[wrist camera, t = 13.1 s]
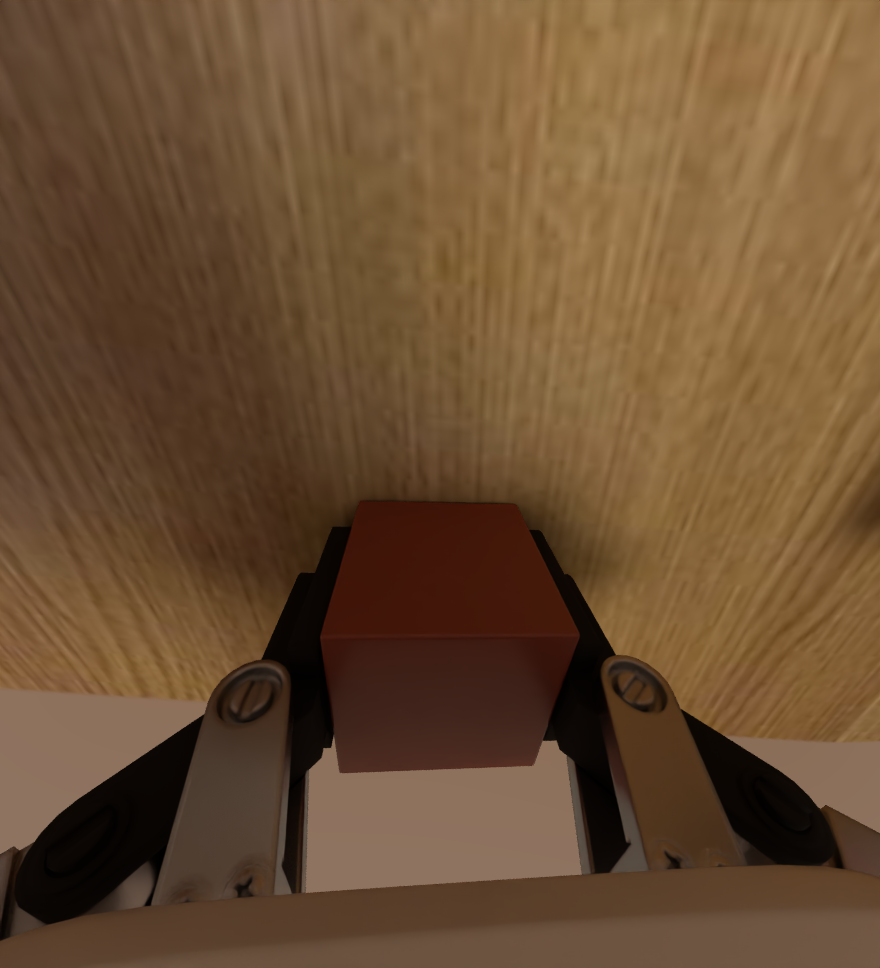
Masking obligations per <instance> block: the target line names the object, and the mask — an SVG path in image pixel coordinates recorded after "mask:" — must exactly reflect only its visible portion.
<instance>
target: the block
mask: <svg viewBox="0 0 880 968" xmlns="http://www.w3.org/2000/svg"><path fill="white" fill-rule="evenodd" d="M579 637H580V636H579V632H578V629H577V627H576V625H575V623H574V621H573V619H572V617H571V615H570V613H569V611H568V609H567V607H566V605H565V603H564V601H563V599H562V597H561V595H560V593H559V591H558V589H557V587H556V584H555V582H554V580H553V578H552V576H551V574H550V572H549V570H548V568H547V566H546V564H545V562H544V560H543V558H542V556H541V554H540V552H539V550H538V548H537V546H536V544H535V542H534V539H533V537H532V535H531V533H530V531H529V529H528V527H527V525H526V523H525V521H524V519H523V517H522V515H521V513H520V511H519V509H518V507H517V505H515V504H479V503H435V502H390V501H360V502H359V504H358V507H357V510H356V514H355V517H354V521H353V524H352V528H351V531H350V535H349V538H348V541H347V545H346V548H345V552H344V555H343V559H342V562H341V566H340V569H339V573H338V576H337V580H336V583H335V586H334V590H333V593H332V597H331V600H330V604H329V607H328V611H327V614H326V618H325V621H324V624H323V628H322V631H321V635H320V641H321V648H322V655H323V662H324V669H325V676H326V683H327V690H328V696H329V703H330V710H331V717H332V724H333V731H334V738H335V745H336V752H337V759H338V766H339V771H340V773H358V772H384V771H410V770H433V769H461V768H485V767H486V768H487V767H512V766H532V765H534V763H535V760H536V758H537V755H538V752H539V749H540V746H541V743H542V741H543V738H544V735H545V732H546V730H547V727H548V724H549V721H550V718H551V716H552V713H553V710H554V707H555V704H556V702H557V699H558V696H559V693H560V691H561V688H562V685H563V682H564V679H565V677H566V674H567V671H568V668H569V665H570V663H571V660H572V657H573V654H574V651H575V649H576V646H577V643H578V640H579Z"/></svg>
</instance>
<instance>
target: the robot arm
mask: <svg viewBox="0 0 880 968" xmlns="http://www.w3.org/2000/svg"><path fill="white" fill-rule="evenodd" d="M351 528H352V527H332V529H331V532H330V534H329V537H328V540H327V542H326V545H325V548H324V550H323V553H322V556H321V558H320V561H319V564H318V566H317V569H316V572H315V573H300V574H299V575H298V577H297V579H296V581H295V583H294V586H293V588H292V590H291V593H290V595H289V597H288V600H287V602H286V604H285V606H284V609H283V611H282V613H281V616H280V618H279V620H278V623H277V625H276V627H275V630H274V632H273V634H272V636H271V639H270V641H269V643H268V646H267V648H266V650H265V653H264V655H263V657H262V659H261V660H256V661H253V662H249V663H246V664H244V665H242V666H240V667H238V668H236V669H235V670H233V671H232V672H230V673H229V674H228V675H227V676H226V677H224V678H223V679H222V680H221V681H220V683H219V684H218V685H217V686H216V688H215V689H214V690H213V692H212V694H211V696H210V699H209V701H208V703H207V707H206V710H205V714H204V715H202V716H201V717H199V718H198V719H196V720H195V721H194V722H192V723H191V724H189V725H187V726H186V727H184V728H183V729H181V730H180V731H179V732H177V733H175V734H174V735H172V736H171V737H170V738H168V739H167V740H165V741H164V742H162V743H161V744H159V745H158V746H156V747H155V748H153V749H152V750H150V751H149V752H147V753H146V754H144V755H143V756H141V757H140V758H138V759H137V760H136V761H134V762H132V763H131V764H130V765H128V766H127V767H125V768H124V769H122V770H121V771H119V772H118V773H116V774H115V775H113V776H112V777H110V778H109V779H107V780H106V781H104V782H103V783H101V784H100V785H98V786H97V787H95V788H94V789H92V790H91V791H90V792H88V793H87V794H85V795H84V796H82V797H81V798H79V799H78V800H76V801H75V802H74V803H73V804H71V805H70V806H69V807H67V808H66V809H65V810H64V811H63V812H61V813H60V814H59V815H58V816H57V817H56V818H55V819H54V820H53V821H52V822H51V823H50V824H49V825H48V826H47V827H46V828H45V829H44V830H43V831H42V832H41V834H40V835H39V836H38V838H37V839H36V841H35V842H34V843H32V844H30V845H28V846H27V847H25V848H23V849H21V850H20V851H19V850H18V849H17V848H16V847H12V848H10V849H8V850H7V851H5V852H3V853H2V854H0V968H880V833H878V832H876V831H875V830H873V829H871V828H869V827H867V826H865V825H863V824H861V823H859V822H857V821H856V820H854V819H851V818H850V817H848V816H846V815H844V814H842V813H840V812H839V811H836V810H835V809H833V808H831V807H829V806H827V805H825V806H824V807H823V808H821V809H820V808H818V807H817V806H816V804H815V803H814V802H813V800H812V799H811V798H810V797H809V796H808V795H807V794H806V793H805V792H804V791H803V790H802V789H801V788H800V787H799V786H798V785H797V784H796V783H795V782H794V781H793V780H791V779H790V778H788V777H787V776H786V775H784V774H783V773H782V772H780V771H779V770H777V769H775V768H774V767H773V766H771V765H769V764H767V763H766V762H764V761H763V760H761V759H760V758H758V757H757V756H755V755H753V754H752V753H750V752H748V751H747V750H745V749H744V748H742V747H741V746H739V745H738V744H736V743H734V742H733V741H731V740H730V739H728V738H726V737H725V736H723V735H722V734H720V733H718V732H717V731H715V730H714V729H712V728H710V727H709V726H707V725H706V724H704V723H702V722H701V721H699V720H698V719H696V718H694V717H693V716H691V715H690V714H688V713H687V712H685V711H683V710H682V709H680V706H679V704H678V702H677V699H676V697H675V695H674V692H673V691H672V689H671V687H670V686H669V684H668V682H667V681H666V680H665V679H664V678H663V677H662V675H661V674H660V673H659V672H658V671H656V670H655V669H654V668H652V667H651V666H650V665H649V664H647V663H645V662H643V661H641V660H639V659H637V658H634V657H630V656H627V655H616V654H615V653H614V651H613V649H612V647H611V645H610V644H609V642H608V640H607V638H606V637H605V635H604V633H603V631H602V629H601V628H600V626H599V624H598V622H597V621H596V619H595V617H594V615H593V613H592V612H591V610H590V608H589V606H588V604H587V603H586V601H585V599H584V597H583V596H582V594H581V592H580V590H579V588H578V587H577V585H576V583H575V581H574V580H573V578H572V577H571V576H570V575H568V574H564V573H563V571H562V569H561V567H560V565H559V563H558V561H557V560H556V558H555V556H554V554H553V552H552V550H551V548H550V547H549V545H548V543H547V541H546V539H545V537H544V535H543V534H542V532H541V531H540V530H529V531H530V533H531V535H532V537H533V539H534V542H535V544H536V546H537V548H538V550H539V552H540V554H541V556H542V558H543V560H544V562H545V564H546V566H547V568H548V570H549V572H550V574H551V576H552V578H553V580H554V582H555V584H556V587H557V589H558V591H559V593H560V595H561V597H562V599H563V601H564V603H565V605H566V607H567V609H568V611H569V613H570V615H571V617H572V619H573V621H574V623H575V625H576V627H577V629H578V632H579V636H580V637H579V640H578V643H577V646H576V649H575V651H574V654H573V657H572V660H571V663H570V665H569V668H568V671H567V674H566V677H565V679H564V682H563V685H562V688H561V691H560V693H559V696H558V699H557V702H556V704H555V707H554V710H553V713H552V716H551V718H550V721H549V724H548V727H547V730H546V732H545V735H544V738H543V741H554V740H557V743H558V746H559V749H560V750H561V751H562V752H563V753H564V754H566V755H567V764H568V771H569V780H570V787H571V795H572V803H573V810H574V818H575V826H576V833H577V841H578V848H579V856H580V864H581V871H582V875H570V876H554V877H539V878H522V879H507V880H492V881H476V882H462V883H461V882H460V883H446V884H432V885H414V886H399V887H386V888H370V889H356V890H342V891H328V892H313V893H306V892H305V891H306V859H307V824H308V820H307V819H308V787H309V786H308V785H309V769H310V768H311V767H312V766H313V765H314V764H315V763H316V762H317V761H318V760H320V759H321V757H322V753H323V748H331V746H332V741H333V736H334V731H333V724H332V717H331V710H330V703H329V696H328V690H327V683H326V676H325V669H324V662H323V655H322V648H321V641H320V635H321V631H322V628H323V624H324V621H325V618H326V614H327V611H328V607H329V604H330V600H331V597H332V593H333V590H334V586H335V583H336V580H337V576H338V573H339V569H340V566H341V562H342V559H343V555H344V552H345V548H346V545H347V541H348V538H349V535H350V531H351Z"/></svg>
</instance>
